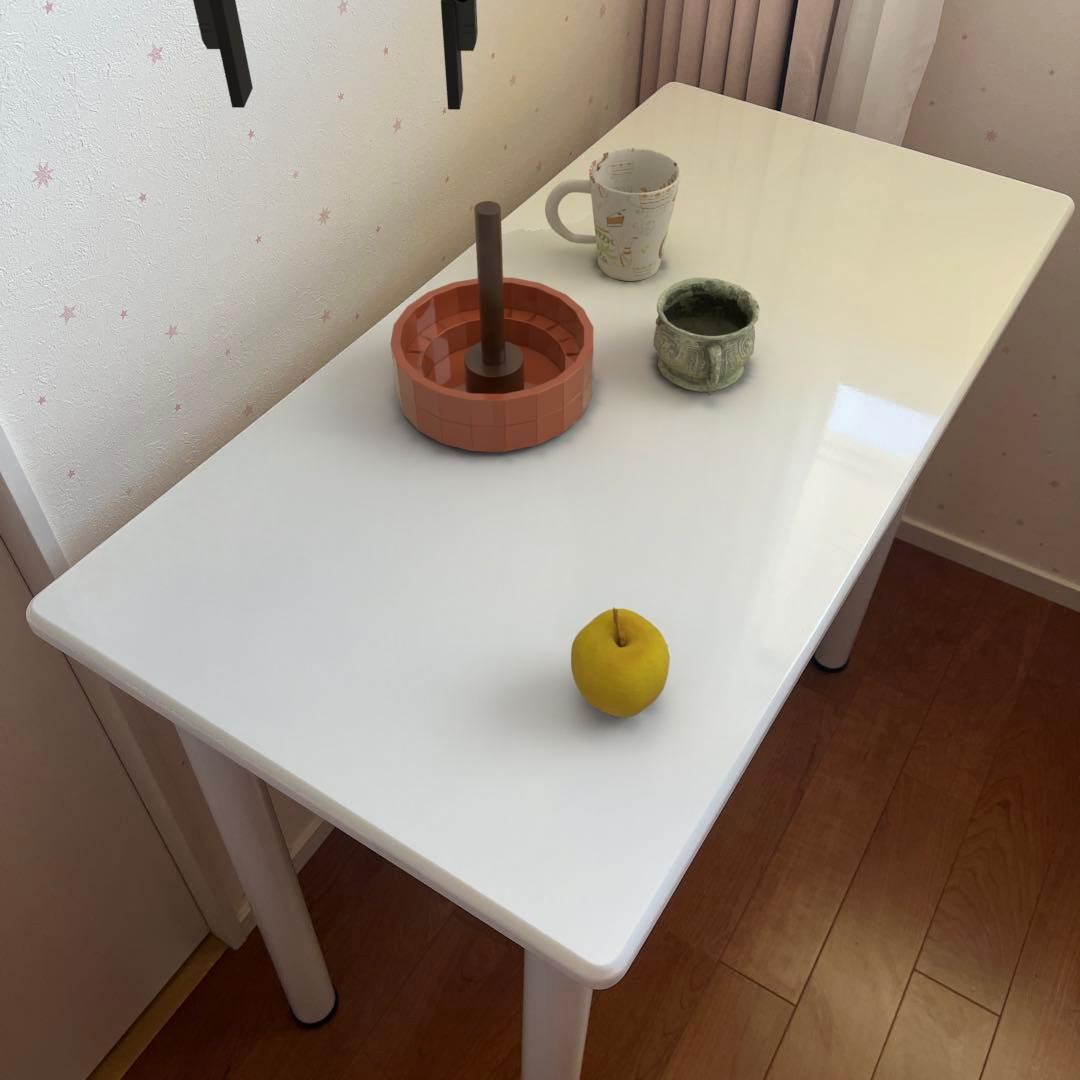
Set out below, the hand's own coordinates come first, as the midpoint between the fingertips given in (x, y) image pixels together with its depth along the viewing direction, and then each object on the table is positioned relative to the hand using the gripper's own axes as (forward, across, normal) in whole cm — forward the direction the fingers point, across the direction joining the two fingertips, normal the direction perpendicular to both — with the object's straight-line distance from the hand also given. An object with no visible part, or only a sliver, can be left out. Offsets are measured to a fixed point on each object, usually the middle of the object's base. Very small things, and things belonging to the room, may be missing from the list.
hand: (349, 99), depth 70 cm
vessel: (+29, -26, -10) cm, 40 cm away
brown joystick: (+28, -8, -6) cm, 30 cm away
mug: (+29, -18, -26) cm, 43 cm away
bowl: (+29, -8, -6) cm, 30 cm away
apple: (+29, -18, +26) cm, 43 cm away
